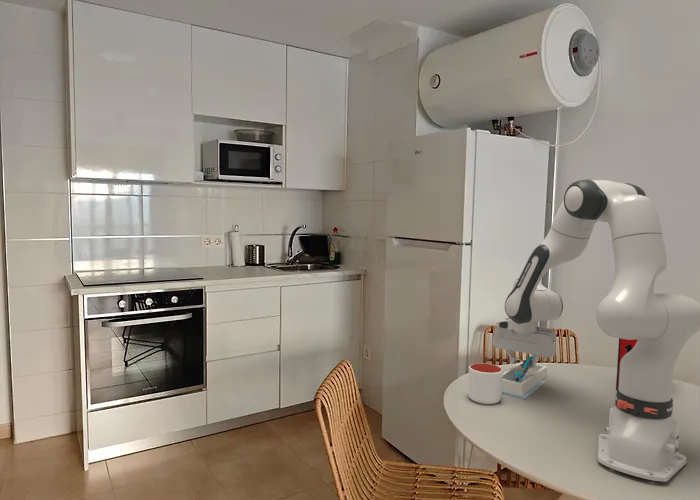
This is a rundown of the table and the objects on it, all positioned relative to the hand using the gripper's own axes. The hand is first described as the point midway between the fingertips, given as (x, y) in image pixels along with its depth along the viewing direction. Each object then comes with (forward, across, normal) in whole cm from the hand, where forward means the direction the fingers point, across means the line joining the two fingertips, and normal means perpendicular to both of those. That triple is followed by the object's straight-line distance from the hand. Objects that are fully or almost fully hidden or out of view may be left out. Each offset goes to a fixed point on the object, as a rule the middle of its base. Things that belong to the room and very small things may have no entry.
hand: (522, 365), depth 166 cm
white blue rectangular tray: (+7, 0, 0) cm, 7 cm away
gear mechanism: (+5, +3, 0) cm, 6 cm away
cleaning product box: (+7, -31, -21) cm, 38 cm away
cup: (+7, +4, +21) cm, 23 cm away
